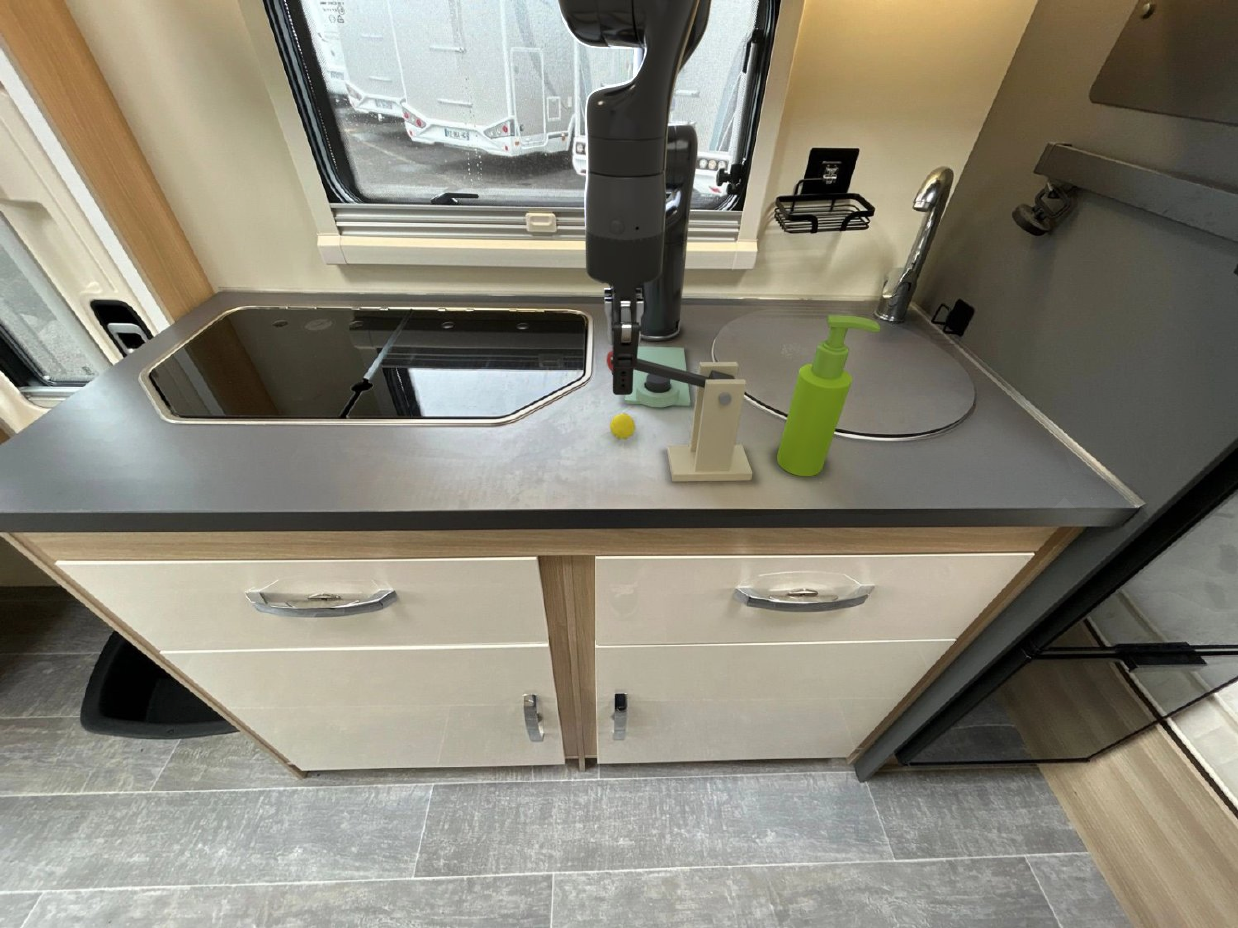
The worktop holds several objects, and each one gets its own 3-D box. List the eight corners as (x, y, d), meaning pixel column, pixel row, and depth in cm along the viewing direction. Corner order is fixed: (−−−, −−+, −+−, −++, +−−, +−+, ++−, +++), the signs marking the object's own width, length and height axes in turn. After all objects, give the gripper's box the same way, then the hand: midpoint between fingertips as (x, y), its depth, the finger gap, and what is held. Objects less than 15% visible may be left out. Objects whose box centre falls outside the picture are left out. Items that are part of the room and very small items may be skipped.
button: (645, 381, 81) (646, 371, 80) (669, 381, 81) (670, 371, 80) (645, 393, 78) (646, 383, 77) (670, 394, 78) (671, 383, 77)
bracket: (672, 481, 66) (682, 386, 57) (667, 452, 70) (675, 360, 62) (751, 480, 66) (772, 385, 57) (740, 451, 71) (759, 359, 62)
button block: (627, 349, 94) (627, 336, 92) (683, 351, 93) (684, 338, 92) (623, 410, 78) (624, 395, 77) (690, 412, 78) (692, 398, 77)
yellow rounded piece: (613, 445, 71) (606, 421, 70) (616, 431, 77) (610, 408, 76) (637, 439, 71) (630, 415, 70) (639, 425, 76) (632, 402, 75)
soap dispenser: (833, 480, 66) (886, 333, 54) (777, 472, 67) (816, 326, 55) (828, 452, 71) (876, 311, 58) (776, 446, 72) (812, 305, 59)
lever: (603, 377, 57) (612, 350, 55) (602, 362, 60) (611, 336, 58) (728, 408, 61) (740, 384, 59) (722, 393, 63) (734, 369, 61)
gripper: (673, 247, 44) (660, 418, 55) (657, 206, 55) (649, 355, 66) (584, 247, 44) (588, 419, 54) (585, 205, 55) (589, 355, 65)
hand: (621, 383), depth 60 cm, fingers closed on lever, 3 cm apart
